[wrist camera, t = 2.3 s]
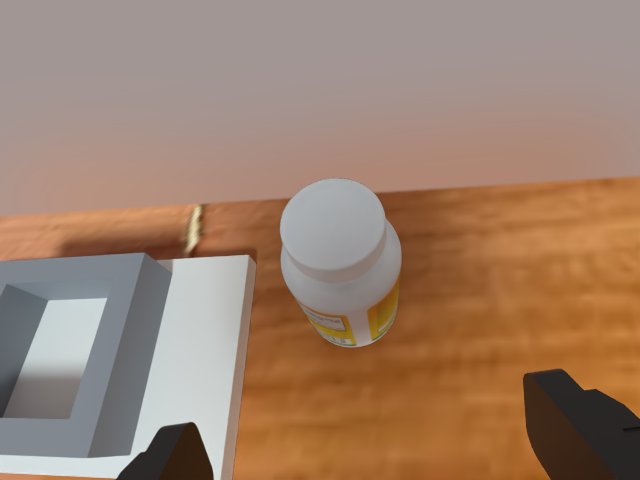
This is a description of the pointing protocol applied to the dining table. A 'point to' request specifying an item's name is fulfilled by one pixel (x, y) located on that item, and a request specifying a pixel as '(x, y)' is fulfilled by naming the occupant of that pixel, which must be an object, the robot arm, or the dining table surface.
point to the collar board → (119, 358)
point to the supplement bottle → (341, 260)
